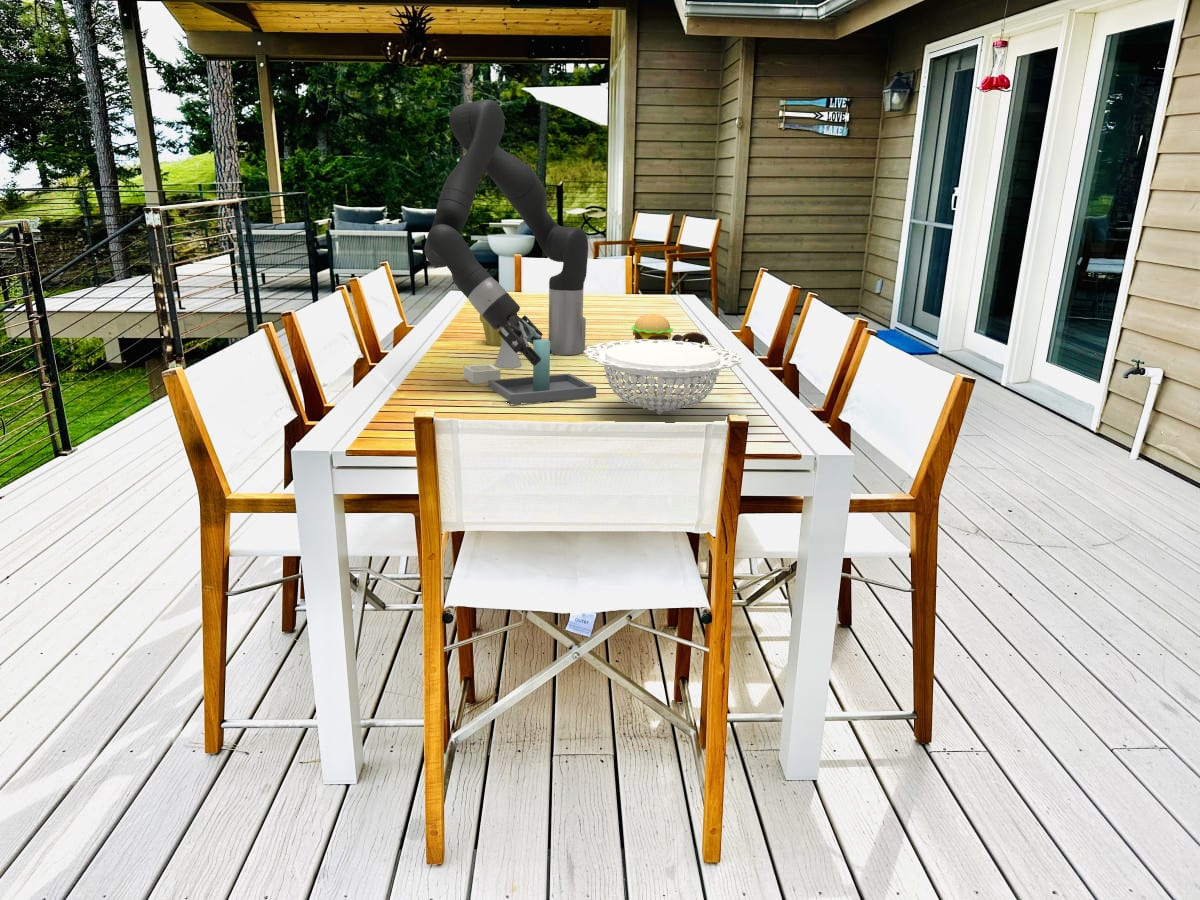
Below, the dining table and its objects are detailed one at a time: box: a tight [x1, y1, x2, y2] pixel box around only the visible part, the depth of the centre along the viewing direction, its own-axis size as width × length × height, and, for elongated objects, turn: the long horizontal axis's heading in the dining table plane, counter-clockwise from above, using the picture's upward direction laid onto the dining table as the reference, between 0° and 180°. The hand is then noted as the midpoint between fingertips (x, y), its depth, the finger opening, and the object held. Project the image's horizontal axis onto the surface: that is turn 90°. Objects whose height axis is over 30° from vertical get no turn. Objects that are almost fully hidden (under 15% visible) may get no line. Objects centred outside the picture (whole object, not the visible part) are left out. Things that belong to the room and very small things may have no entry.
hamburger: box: [631, 313, 674, 343], centre depth 247 cm, size 12×12×9 cm
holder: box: [462, 363, 501, 385], centre depth 196 cm, size 7×7×4 cm
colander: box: [583, 339, 743, 415], centre depth 173 cm, size 32×32×13 cm
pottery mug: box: [671, 331, 711, 348], centre depth 229 cm, size 12×10×8 cm
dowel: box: [532, 338, 551, 391], centre depth 187 cm, size 4×4×11 cm
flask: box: [493, 338, 523, 370], centre depth 210 cm, size 7×7×10 cm
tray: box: [487, 373, 597, 405], centre depth 188 cm, size 20×14×2 cm
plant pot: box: [479, 313, 502, 346], centre depth 240 cm, size 10×10×10 cm
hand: (543, 359), depth 186 cm, fingers open, 8 cm apart
